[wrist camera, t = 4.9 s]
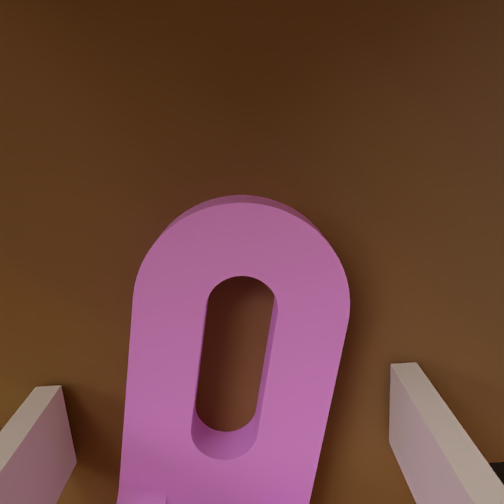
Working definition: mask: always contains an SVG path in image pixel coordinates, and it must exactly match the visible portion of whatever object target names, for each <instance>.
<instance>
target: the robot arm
mask: <svg viewBox="0 0 504 504" xmlns="http://www.w3.org/2000/svg"><path fill="white" fill-rule="evenodd" d="M389 444H390V446H391V448H392V450H393V453H394V455H395V457H396V459H397V462H398V464H399V466H400V468H401V471H402V473H403V475H404V477H405V479H406V482H407V484H408V486H409V488H410V491H411V493H412V495H413V497H414V500H415V502H416V504H504V462H498V463H488V462H487V461H486V460H485V458H484V457H483V455H482V454H481V453H480V451H479V450H478V448H477V447H476V445H475V444H474V443H473V441H472V440H471V438H470V437H469V436H468V434H467V433H466V431H465V430H464V429H463V427H462V426H461V424H460V423H459V422H458V420H457V419H456V417H455V416H454V414H453V413H452V412H451V410H450V409H449V407H448V406H447V405H446V403H445V402H444V400H443V399H442V398H441V396H440V395H439V393H438V392H437V391H436V389H435V388H434V386H433V385H432V384H431V382H430V381H429V379H428V378H427V376H426V375H425V374H424V372H423V371H422V369H421V368H420V367H419V365H418V364H417V362H413V363H397V364H391V370H390V415H389ZM76 463H77V460H76V456H75V451H74V446H73V441H72V436H71V431H70V426H69V421H68V416H67V411H66V407H65V402H64V397H63V392H62V387H61V385H57V386H42V387H35V388H34V389H33V391H32V392H31V393H30V395H29V396H28V397H27V398H26V400H25V401H24V402H23V403H22V405H21V406H20V407H19V408H18V410H17V411H16V412H15V413H14V415H13V416H12V417H11V419H10V420H9V421H8V422H7V424H6V425H5V426H4V427H3V429H2V430H1V431H0V504H57V502H58V499H59V497H60V495H61V493H62V491H63V489H64V487H65V485H66V483H67V481H68V479H69V477H70V475H71V473H72V471H73V469H74V467H75V465H76Z"/></svg>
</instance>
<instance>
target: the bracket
mask: <svg viewBox="0 0 504 504" xmlns="http://www.w3.org/2000/svg"><path fill="white" fill-rule="evenodd" d="M235 276H249V277H253V278H256V279H258V280H260V281H262V282H263V283H265V284H266V285H267V286H268V287H269V288H270V289H271V290H272V292H273V293H274V295H275V298H274V304H273V310H272V316H271V322H270V328H269V334H268V340H267V346H266V352H265V358H264V364H263V370H262V376H261V383H260V389H259V395H258V401H257V407H256V412H255V415H254V417H253V418H252V420H251V421H250V422H249V423H248V424H247V425H246V426H244V427H243V428H241V429H238V430H235V431H230V432H222V431H217V430H214V429H211V428H210V427H208V426H206V425H205V424H204V423H203V422H202V421H201V420H200V418H199V417H198V415H197V412H196V406H195V405H196V395H197V387H198V379H199V371H200V362H201V354H202V346H203V338H204V330H205V322H206V313H207V305H208V297H209V294H210V293H211V291H212V290H213V289H214V288H215V286H217V285H218V284H219V283H220V282H222V281H224V280H226V279H228V278H231V277H235ZM349 314H350V293H349V287H348V282H347V278H346V275H345V272H344V269H343V267H342V264H341V262H340V260H339V258H338V257H337V255H336V253H335V252H334V250H333V248H332V247H331V245H330V244H329V243H328V241H327V240H326V238H325V237H324V236H323V234H322V233H321V232H320V230H319V229H318V228H317V227H316V226H315V225H314V224H313V223H312V222H311V221H310V220H309V219H308V218H306V217H305V216H304V215H303V214H301V213H300V212H298V211H297V210H295V209H293V208H292V207H290V206H288V205H286V204H284V203H281V202H278V201H276V200H273V199H269V198H265V197H260V196H253V195H230V196H224V197H218V198H214V199H211V200H208V201H205V202H203V203H200V204H198V205H196V206H194V207H192V208H190V209H189V210H187V211H185V212H184V213H183V214H181V215H180V216H178V217H177V218H176V219H175V220H174V221H173V222H172V223H170V224H169V225H168V227H167V228H166V229H165V230H164V231H163V232H162V234H161V235H160V236H159V238H158V239H157V240H156V242H155V243H154V244H153V246H152V247H151V249H150V250H149V252H148V253H147V255H146V256H145V258H144V260H143V262H142V264H141V266H140V269H139V272H138V274H137V278H136V282H135V286H134V293H133V304H132V317H131V331H130V345H129V358H128V372H127V385H126V399H125V413H124V426H123V440H122V453H121V467H120V480H119V492H118V498H117V503H116V504H309V502H310V498H311V493H312V488H313V484H314V479H315V474H316V470H317V465H318V460H319V456H320V451H321V447H322V442H323V437H324V433H325V428H326V423H327V419H328V414H329V409H330V405H331V400H332V396H333V391H334V386H335V382H336V377H337V372H338V368H339V363H340V358H341V354H342V349H343V344H344V340H345V335H346V331H347V326H348V320H349Z"/></svg>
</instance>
